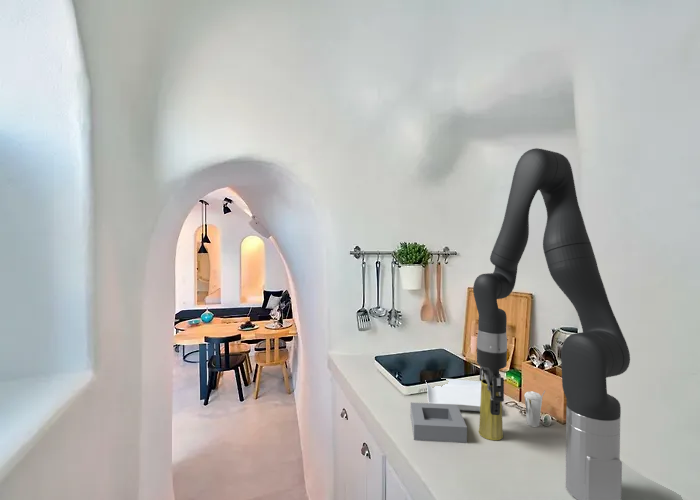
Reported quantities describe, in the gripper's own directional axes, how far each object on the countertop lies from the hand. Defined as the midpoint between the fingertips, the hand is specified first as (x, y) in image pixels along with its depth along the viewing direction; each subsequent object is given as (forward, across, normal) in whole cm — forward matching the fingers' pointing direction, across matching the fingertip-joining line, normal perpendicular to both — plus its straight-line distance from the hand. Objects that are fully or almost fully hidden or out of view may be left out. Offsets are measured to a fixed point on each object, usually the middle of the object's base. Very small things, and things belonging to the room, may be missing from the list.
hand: (490, 406), depth 99 cm
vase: (+8, 0, 0) cm, 8 cm away
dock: (+8, +1, +14) cm, 16 cm away
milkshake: (+8, +7, -14) cm, 17 cm away
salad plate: (+8, +21, +4) cm, 23 cm away
